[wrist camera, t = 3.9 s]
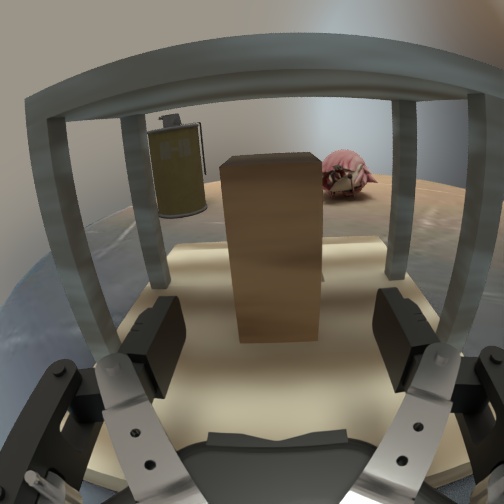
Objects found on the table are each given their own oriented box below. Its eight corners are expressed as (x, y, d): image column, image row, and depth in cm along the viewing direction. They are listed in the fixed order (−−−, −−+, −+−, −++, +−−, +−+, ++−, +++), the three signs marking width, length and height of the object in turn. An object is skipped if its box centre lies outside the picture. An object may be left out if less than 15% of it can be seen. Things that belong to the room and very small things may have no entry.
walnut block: (246, 301, 23) (232, 156, 19) (310, 298, 23) (309, 152, 18) (239, 343, 19) (219, 167, 14) (317, 341, 18) (322, 161, 14)
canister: (158, 222, 55) (143, 117, 47) (158, 209, 64) (146, 120, 56) (213, 212, 58) (202, 109, 50) (205, 200, 67) (196, 113, 59)
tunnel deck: (180, 266, 37) (157, 105, 29) (375, 258, 35) (379, 93, 27) (72, 475, 11) (-97, 124, 3) (483, 468, 9) (622, 80, 1)
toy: (375, 204, 51) (385, 185, 62) (358, 147, 48) (370, 139, 59) (318, 216, 58) (338, 195, 69) (300, 164, 55) (324, 153, 67)
